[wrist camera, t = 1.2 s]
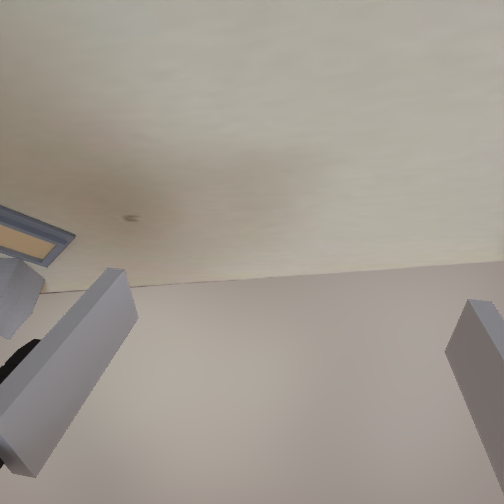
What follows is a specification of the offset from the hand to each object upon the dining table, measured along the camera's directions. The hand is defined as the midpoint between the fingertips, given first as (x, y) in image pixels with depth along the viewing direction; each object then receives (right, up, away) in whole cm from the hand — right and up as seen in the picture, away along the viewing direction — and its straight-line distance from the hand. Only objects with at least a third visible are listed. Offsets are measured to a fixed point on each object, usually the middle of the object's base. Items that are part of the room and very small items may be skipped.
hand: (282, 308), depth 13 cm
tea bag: (-37, 0, +38) cm, 53 cm away
